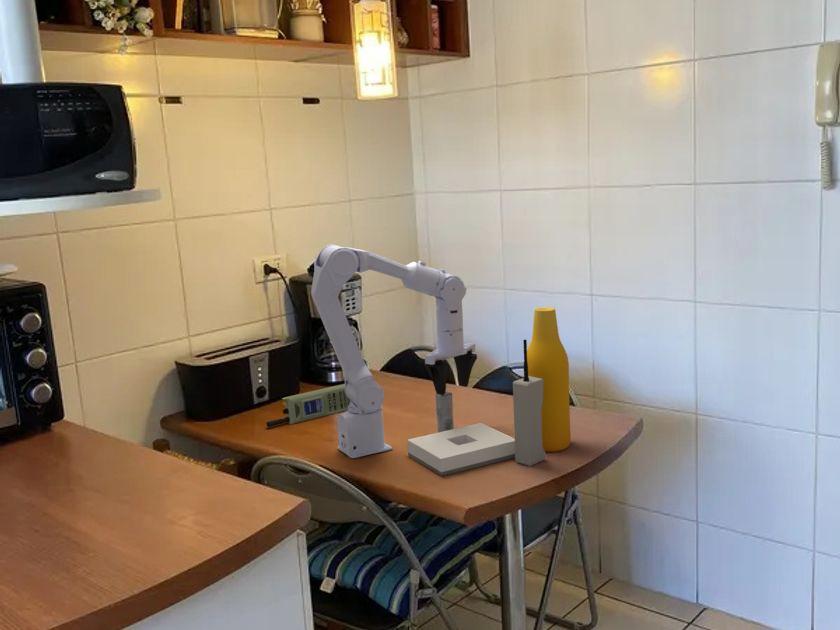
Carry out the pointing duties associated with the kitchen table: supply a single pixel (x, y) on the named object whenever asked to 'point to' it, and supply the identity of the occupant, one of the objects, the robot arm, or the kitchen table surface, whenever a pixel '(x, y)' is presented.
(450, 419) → the steel pin
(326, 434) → the kitchen table surface
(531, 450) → the vintage mobile phone
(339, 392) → the handheld radio
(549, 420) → the beer bottle
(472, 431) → the grey hole plate
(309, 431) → the kitchen table surface
